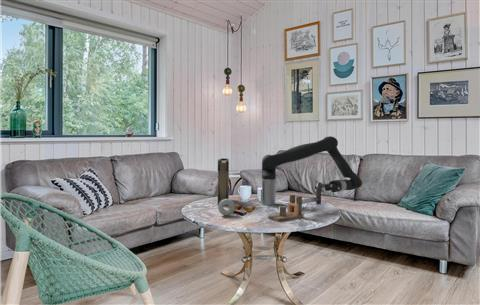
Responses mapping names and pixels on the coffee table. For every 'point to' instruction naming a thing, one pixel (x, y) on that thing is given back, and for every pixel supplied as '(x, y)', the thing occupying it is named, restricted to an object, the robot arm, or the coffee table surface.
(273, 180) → the robot arm
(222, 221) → the coffee table surface
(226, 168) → the decorative book
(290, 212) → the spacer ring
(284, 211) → the shaft stand
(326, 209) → the coffee table surface
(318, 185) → the grey piece
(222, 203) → the donut
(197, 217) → the coffee table surface
